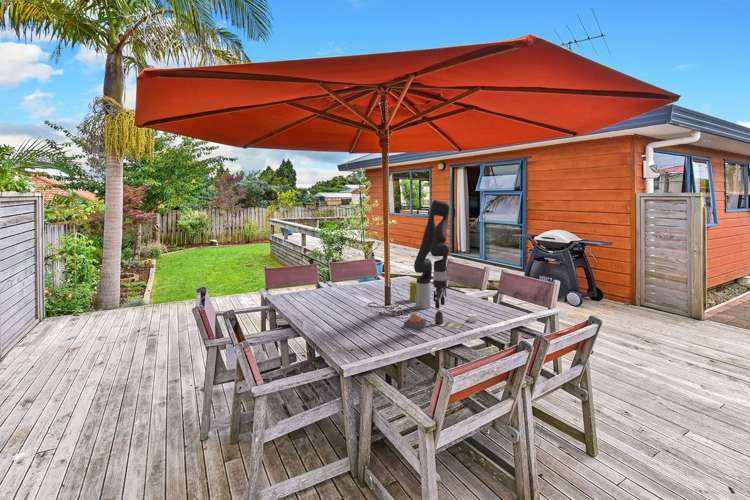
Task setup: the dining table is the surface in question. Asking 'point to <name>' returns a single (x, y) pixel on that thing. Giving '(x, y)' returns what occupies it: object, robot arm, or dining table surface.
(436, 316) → the pawn
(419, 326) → the dome collar
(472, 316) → the die
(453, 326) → the board
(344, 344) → the dining table surface
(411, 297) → the food
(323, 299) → the dining table surface
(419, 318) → the dome
